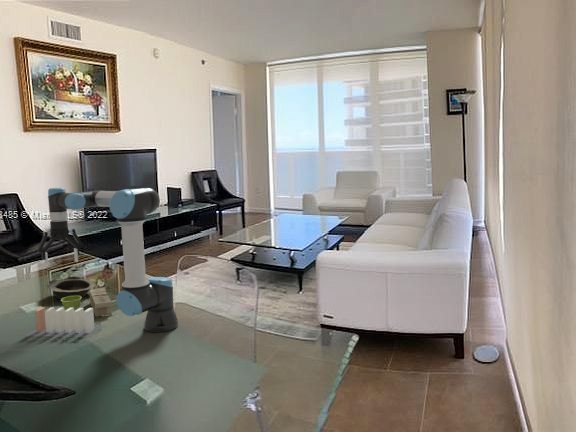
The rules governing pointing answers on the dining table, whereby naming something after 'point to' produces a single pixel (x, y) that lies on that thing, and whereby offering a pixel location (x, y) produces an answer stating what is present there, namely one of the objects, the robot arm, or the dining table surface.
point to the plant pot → (71, 302)
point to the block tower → (100, 302)
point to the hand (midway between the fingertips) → (61, 263)
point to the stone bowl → (70, 287)
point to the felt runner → (64, 333)
